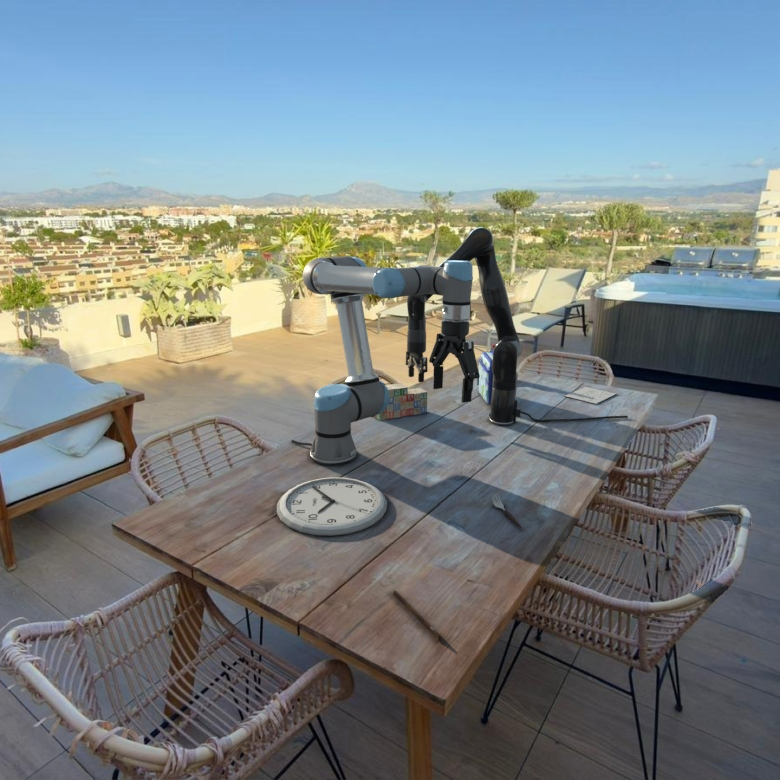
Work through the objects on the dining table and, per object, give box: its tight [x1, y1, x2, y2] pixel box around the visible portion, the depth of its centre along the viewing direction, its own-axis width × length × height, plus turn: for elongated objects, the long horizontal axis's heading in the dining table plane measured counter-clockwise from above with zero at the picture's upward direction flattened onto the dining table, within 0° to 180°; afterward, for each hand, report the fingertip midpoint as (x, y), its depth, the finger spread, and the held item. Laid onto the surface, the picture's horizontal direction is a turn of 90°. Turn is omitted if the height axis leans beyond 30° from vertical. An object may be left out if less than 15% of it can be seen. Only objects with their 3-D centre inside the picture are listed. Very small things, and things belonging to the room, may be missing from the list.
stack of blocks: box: [374, 382, 428, 421], centre depth 211 cm, size 21×6×12 cm, turn 114°
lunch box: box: [476, 349, 494, 406], centre depth 230 cm, size 26×11×21 cm, turn 179°
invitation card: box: [564, 386, 616, 405], centre depth 242 cm, size 21×1×15 cm
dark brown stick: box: [392, 590, 441, 641], centre depth 102 cm, size 15×1×1 cm, turn 34°
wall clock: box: [276, 476, 388, 537], centre depth 142 cm, size 30×2×30 cm
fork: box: [489, 492, 523, 529], centre depth 139 cm, size 3×16×2 cm, turn 15°
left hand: (451, 394), depth 147 cm, fingers open, 13 cm apart
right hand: (416, 379), depth 211 cm, fingers open, 8 cm apart
